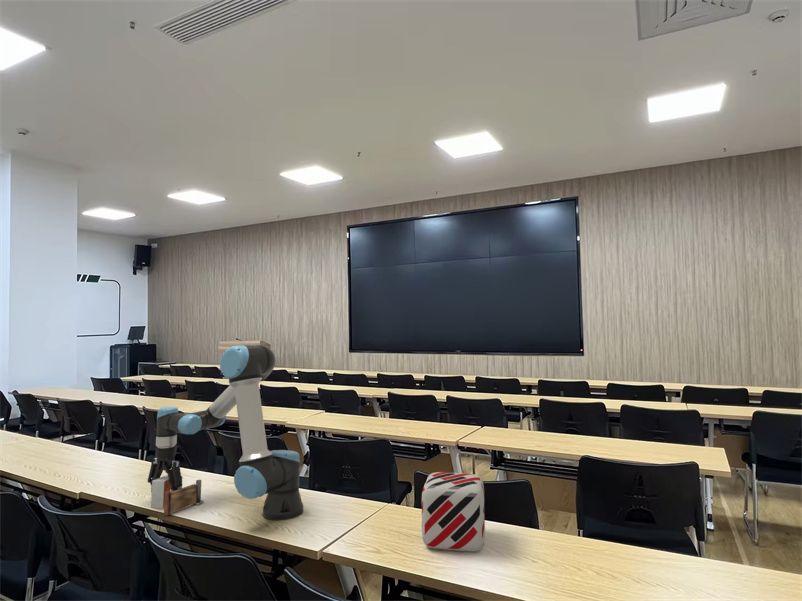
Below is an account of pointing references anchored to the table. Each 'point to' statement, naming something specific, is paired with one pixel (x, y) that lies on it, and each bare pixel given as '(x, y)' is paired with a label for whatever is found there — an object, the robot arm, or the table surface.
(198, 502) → the pivot post
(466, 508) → the decorative cube
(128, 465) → the table surface
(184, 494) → the gate
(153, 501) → the small box
